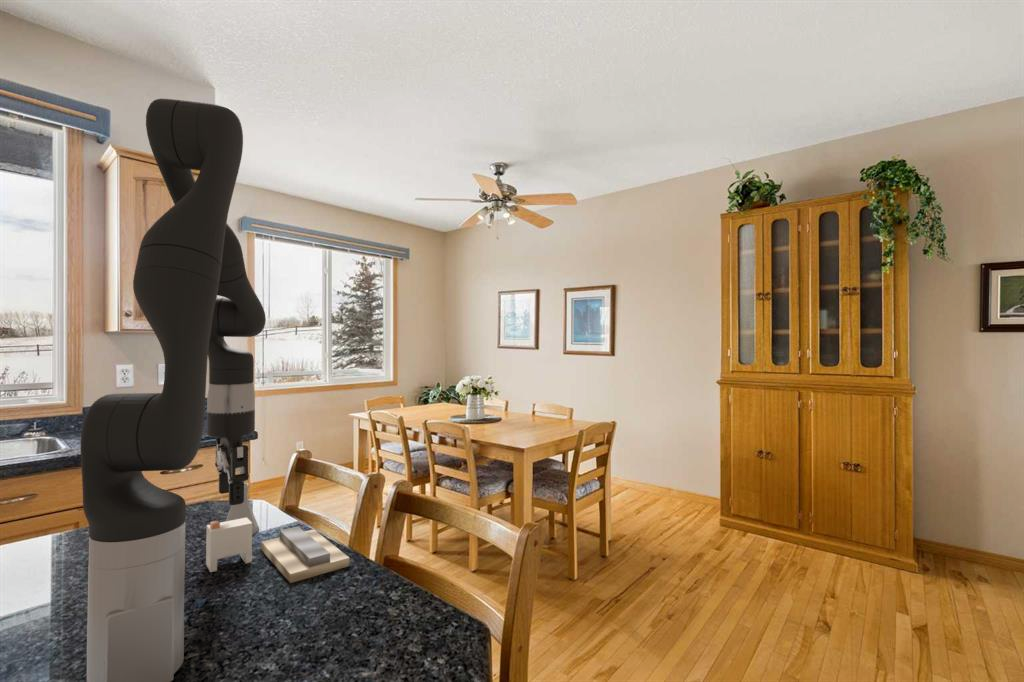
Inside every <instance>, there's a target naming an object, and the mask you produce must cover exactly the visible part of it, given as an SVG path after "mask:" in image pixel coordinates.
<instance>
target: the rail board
mask: <svg viewBox="0 0 1024 682" xmlns="http://www.w3.org/2000/svg"><path fill="white" fill-rule="evenodd" d="M260 550H261V552H263V554H264V555H265V556H266V557H267V559H268V560H270V562H271V563H272V564H273V565H274V566H275V567H276V569H277V570H278V571H279V572H280V573H281V574H282V576H283V577H284V578H285V579H286V580H287V581H288V582H289V583H290V584H293V583H296V582H299V581H303V580H306V579H310V578H314V577H317V576H319V575H323V574H328V573H330V572H334V571H337V570H341V569H343V568H344V569H345V568H347V567H350V557H349V555H347V554H346V553H344V552H343V551H341V550H340V549H339V548H338V547H337V546H336V545H335V544H333V543H332V542H331V541H329V539H327V538H325V537H324V536H323V535H322V534H320V533H319V532H318V531H316V530H315V529H310V530H303V529H302V528H301V527H300V526H299V525H298V526H294V527H289V528H285V529H281V530H279V537H275V538H271V539H266V540H262V541H260Z"/></svg>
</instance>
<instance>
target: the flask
mask: <svg viewBox="0 0 1024 682" xmlns="http://www.w3.org/2000/svg"><path fill="white" fill-rule="evenodd" d="M248 488H250V484H249V482H244V502H243V503H242V504H237V505H230V508H229V510H228V514H227V516H226V519H225V521H224V522H226V521H231V520H236V519H241V518H246V517H247V518H248V519H249V520H250V521H251V522H252V536H254V535H255V534H256V533H257V532H258V531H259V530H260V527H259V524H258V522H257V519H256V517H255V514H254V511H253V510H252V507H251V504H250V500H249V495H248V494H249V491H248V490H249V489H248Z"/></svg>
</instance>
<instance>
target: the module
mask: <svg viewBox="0 0 1024 682" xmlns="http://www.w3.org/2000/svg"><path fill="white" fill-rule="evenodd" d="M225 521H226V520H225ZM225 521H222V522H219V520H213V521H210V523H209V524H207V525H206V539H205V541H206V542H205V543H206V544H205V545H206V547H205V564H206V565H205V566H206V568H207V569H208V571H209V572H210V573H212V572H217V571H218V560H220V559H223V558H229V557H232V556H236V555H240V558H241V559H242V561H243V562H244V564H249V563H252V562H253V535H252V522H251V521H250V520H249V519H248V518H247V517H246V518H241V519H236V520H231V521H226V522H225Z"/></svg>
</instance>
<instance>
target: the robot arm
mask: <svg viewBox="0 0 1024 682" xmlns="http://www.w3.org/2000/svg"><path fill="white" fill-rule="evenodd" d="M145 127H146V128H145V129H146V133H147V139H148V142H149V143H148V144H149V146H150V149H151V152H152V154H153V157H154V160H155V162H156V164H157V167H158V170H159V172H160V174H161V176H162V178H163V181H164V184H165V186H166V188H167V191H168V193H169V196H170V197H171V200H172V202H173V204H174V205H173V206H172V207H170V208H169V209H168V210H167V211H166V212H165V213H164V214H162V216H160V217H159V218H158V219H157V220H156V221H155V222H154V223H153V224H152V225H151V227H150V228H148V230H147V231H146V233H145V234H144V236H143V237H142V240H141V241H140V246H139V249H138V250H139V251H138V255H137V260H136V265H135V271H134V274H133V284H132V286H133V287H132V288H133V293H134V297H135V300H136V302H137V304H138V307H139V308H140V310H141V312H142V314H143V316H144V317H145V320H146V321H147V323H148V325H149V326H150V327H151V329H152V331H153V333H154V334H155V336H156V338H157V340H158V343H159V344H160V348H161V350H162V353H163V358H164V377H163V378H164V379H163V385H162V387H163V388H162V391H161V392H152V393H151V392H150V393H149V392H142V393H139V392H133V393H125V392H124V393H120V392H119V393H110V394H105V395H103V396H101V397H99V398H98V399H96V400H95V401H94V402H93V403H92V404H91V406H90V407H89V409H88V411H86V414H85V417H84V419H83V422H82V426H81V431H80V465H81V481H82V482H81V483H82V484H81V485H82V487H81V488H82V508H83V513H84V516H85V518H86V521H87V523H88V526H89V527H88V532H89V533H88V535H89V537H88V565H87V566H88V568H87V569H88V570H87V572H88V573H87V574H88V575H87V618H86V619H87V620H86V621H87V624H86V629H87V630H86V633H87V634H86V682H172V681H174V674H176V673H177V672H178V670H179V669H181V666H182V665H183V663H184V659H185V658H184V652H185V647H184V646H185V573H186V572H185V571H186V570H185V569H186V567H185V566H186V524H187V523H186V521H187V505H186V501H185V499H184V498H183V497H182V496H181V495H179V494H178V493H176V492H175V493H174V492H171V491H169V490H165V489H163V488H161V487H158V486H157V485H155V484H153V483H152V482H151V481H149V480H148V479H147V478H146V477H145V476H144V474H143V472H151V471H152V472H158V471H159V472H160V471H161V472H162V471H177V470H182V469H184V468H186V467H187V466H189V465H190V464H191V463H192V462H193V460H195V457H197V456H196V455H197V454H198V452H199V449H200V445H201V442H202V438H203V437H202V436H203V431H204V422H205V409H206V414H207V415H206V434H207V436H208V437H209V438H214V439H215V463H214V466H215V468H216V471H217V474H218V492H219V494H221V495H222V494H223V495H224V494H228V504H229V505H230V506H231V505H237V504H242V503H243V502H244V483H246V481H248V480H249V477H250V476H249V446H248V445H245V444H244V443H243V437H245V436H249V435H252V434H254V433H255V428H256V426H255V425H256V420H255V419H256V392H255V386H254V384H255V383H254V381H255V379H254V377H255V376H254V374H255V373H254V372H255V368H254V367H255V365H254V363H255V362H254V361H255V360H254V356H253V354H252V352H250V351H247V350H242V349H238V348H237V349H236V348H233V347H230V346H229V345H228V344H227V342H226V340H225V337H227V338H239V337H240V338H251V337H256V336H258V335H260V334H261V333H262V332H263V330H264V328H265V325H266V313H265V310H264V307H263V304H262V303H261V302H262V301H260V299H259V297H258V296H257V295H258V294H256V292H255V290H254V288H253V286H252V284H251V283H250V280H249V278H248V275H247V269H246V265H245V258H244V254H243V250H242V246H241V245H242V244H241V243H240V241H239V238H238V237H237V235H236V234H235V232H234V230H233V229H232V228H231V226H230V225H229V224H228V223H227V222H228V216H229V212H230V211H229V210H230V206H231V202H232V198H233V194H234V190H235V186H236V182H237V178H238V175H239V170H240V166H241V163H242V155H243V149H244V134H243V133H244V131H243V126H242V123H241V120H240V118H239V117H238V115H237V113H236V112H235V111H234V110H232V109H231V108H229V107H226V106H224V105H220V104H215V103H208V102H207V103H206V102H198V101H190V100H181V99H172V98H157V99H154V100H153V101H152V102H151V103H149V106H148V108H147V111H146V114H145ZM192 170H193V171H199V173H198V176H197V178H196V179H195V177H194V174H193V171H192ZM217 296H219V297H217ZM208 364H209V365H208ZM208 367H209V368H208ZM207 368H208V369H207ZM207 370H208V371H209V372H208V371H207ZM207 372H208V378H209V379H208V383H209V384H208V391H206V390H207V389H206V388H207ZM206 392H207V393H206ZM206 394H207V395H206ZM206 396H207V399H206ZM206 400H207V401H206ZM206 403H207V404H206ZM206 405H207V407H206ZM236 472H239V473H238V474H236Z"/></svg>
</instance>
